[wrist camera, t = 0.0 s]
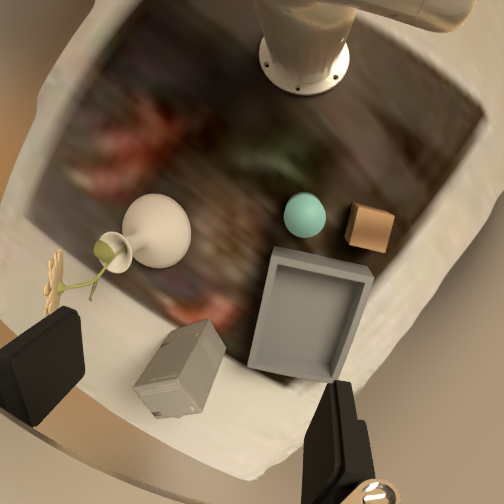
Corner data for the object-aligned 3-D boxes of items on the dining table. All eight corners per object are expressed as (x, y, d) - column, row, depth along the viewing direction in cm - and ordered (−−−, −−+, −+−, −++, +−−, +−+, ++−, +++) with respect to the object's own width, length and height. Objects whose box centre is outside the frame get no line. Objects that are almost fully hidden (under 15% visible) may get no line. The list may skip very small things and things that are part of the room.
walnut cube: (352, 202, 44) (358, 206, 39) (384, 210, 43) (394, 216, 38) (344, 236, 45) (349, 244, 40) (376, 244, 45) (384, 252, 40)
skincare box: (210, 316, 51) (177, 373, 36) (229, 352, 53) (205, 414, 37) (168, 330, 53) (127, 384, 38) (188, 364, 54) (155, 422, 39)
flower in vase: (153, 177, 47) (36, 195, 23) (209, 225, 47) (125, 286, 23) (112, 240, 50) (1, 294, 26) (161, 286, 51) (72, 371, 27)
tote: (274, 245, 47) (271, 254, 42) (367, 266, 46) (374, 277, 41) (251, 349, 52) (246, 367, 47) (333, 366, 51) (335, 384, 46)
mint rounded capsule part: (289, 188, 44) (288, 192, 38) (325, 195, 44) (329, 201, 37) (282, 222, 46) (280, 232, 39) (317, 230, 45) (320, 241, 39)
